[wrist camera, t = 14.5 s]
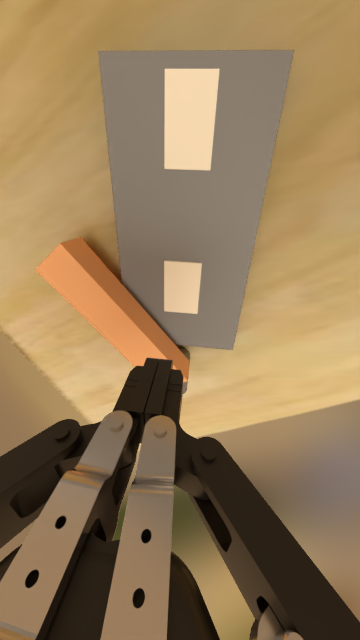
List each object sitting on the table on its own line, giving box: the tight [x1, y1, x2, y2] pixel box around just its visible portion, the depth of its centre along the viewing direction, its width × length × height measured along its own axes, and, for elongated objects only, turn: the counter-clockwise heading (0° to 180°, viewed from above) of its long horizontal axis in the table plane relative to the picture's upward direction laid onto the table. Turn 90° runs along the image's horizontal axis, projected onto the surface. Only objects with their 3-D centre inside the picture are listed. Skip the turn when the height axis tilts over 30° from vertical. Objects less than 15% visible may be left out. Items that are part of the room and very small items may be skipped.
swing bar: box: [35, 237, 190, 394], centre depth 24 cm, size 20×4×4 cm, turn 37°
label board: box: [98, 50, 294, 361], centre depth 23 cm, size 30×14×2 cm, turn 178°
